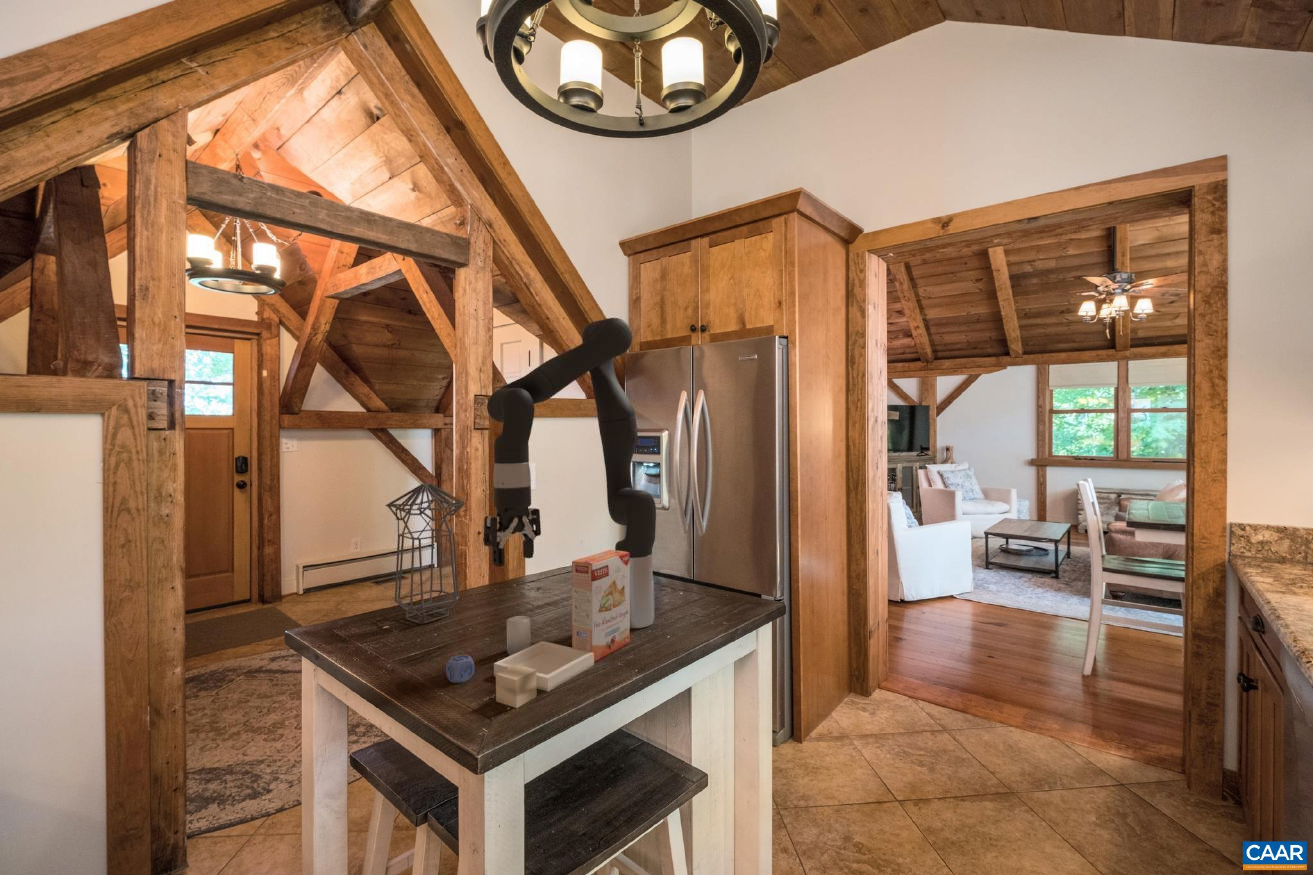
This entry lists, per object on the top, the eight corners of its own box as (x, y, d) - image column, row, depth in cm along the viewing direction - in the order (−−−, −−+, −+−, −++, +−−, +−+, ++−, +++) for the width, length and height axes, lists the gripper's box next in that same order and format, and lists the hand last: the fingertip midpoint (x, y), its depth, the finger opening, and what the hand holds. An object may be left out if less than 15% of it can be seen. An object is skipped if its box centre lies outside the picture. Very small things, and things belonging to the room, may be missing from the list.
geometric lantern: (384, 618, 152) (381, 484, 152) (441, 604, 164) (438, 479, 163) (413, 631, 142) (411, 487, 141) (471, 615, 154) (469, 482, 153)
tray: (542, 652, 127) (542, 640, 127) (594, 664, 120) (593, 652, 120) (493, 675, 115) (493, 663, 115) (548, 691, 108) (547, 678, 108)
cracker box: (593, 664, 120) (592, 563, 120) (571, 659, 123) (569, 560, 123) (632, 643, 132) (630, 550, 132) (610, 638, 135) (609, 548, 135)
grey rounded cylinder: (518, 645, 131) (518, 614, 131) (535, 649, 129) (534, 618, 129) (502, 653, 127) (501, 621, 127) (519, 657, 125) (518, 624, 125)
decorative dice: (445, 679, 114) (445, 658, 114) (464, 672, 117) (463, 652, 117) (456, 685, 112) (455, 664, 111) (475, 678, 115) (474, 657, 114)
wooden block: (516, 690, 109) (516, 664, 109) (536, 697, 106) (536, 669, 106) (496, 701, 104) (495, 674, 104) (516, 708, 102) (516, 679, 102)
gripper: (500, 488, 114) (502, 571, 114) (548, 481, 126) (550, 556, 126) (473, 487, 118) (475, 567, 118) (522, 480, 130) (524, 553, 130)
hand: (514, 561), depth 122 cm, fingers open, 8 cm apart
